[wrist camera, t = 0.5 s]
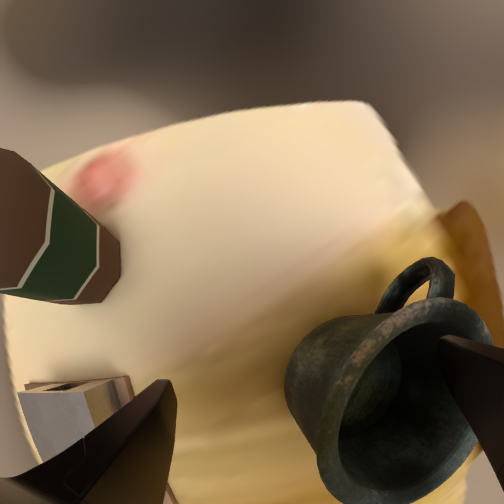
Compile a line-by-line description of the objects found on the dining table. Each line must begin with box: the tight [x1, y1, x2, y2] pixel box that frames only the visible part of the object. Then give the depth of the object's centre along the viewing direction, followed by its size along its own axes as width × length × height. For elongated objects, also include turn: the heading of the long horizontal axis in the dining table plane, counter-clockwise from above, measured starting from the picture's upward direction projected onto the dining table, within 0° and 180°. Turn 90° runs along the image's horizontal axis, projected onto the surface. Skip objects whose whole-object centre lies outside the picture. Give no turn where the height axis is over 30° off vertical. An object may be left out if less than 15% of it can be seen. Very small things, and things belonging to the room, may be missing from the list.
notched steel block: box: [18, 379, 122, 462], centre depth 15 cm, size 6×7×5 cm
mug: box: [284, 257, 494, 504], centre depth 15 cm, size 11×15×12 cm
